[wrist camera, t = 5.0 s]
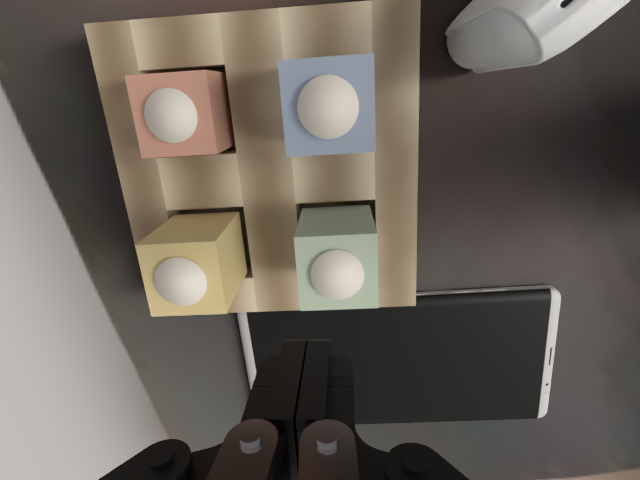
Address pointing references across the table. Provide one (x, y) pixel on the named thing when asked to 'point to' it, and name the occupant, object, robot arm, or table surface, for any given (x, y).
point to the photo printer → (522, 30)
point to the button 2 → (193, 264)
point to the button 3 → (328, 104)
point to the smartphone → (431, 352)
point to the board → (273, 134)
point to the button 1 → (181, 113)
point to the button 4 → (337, 258)
